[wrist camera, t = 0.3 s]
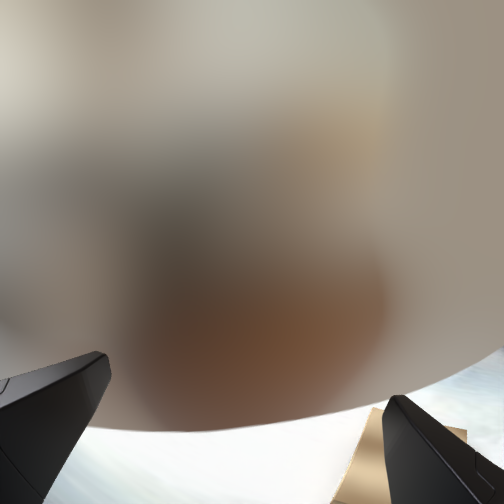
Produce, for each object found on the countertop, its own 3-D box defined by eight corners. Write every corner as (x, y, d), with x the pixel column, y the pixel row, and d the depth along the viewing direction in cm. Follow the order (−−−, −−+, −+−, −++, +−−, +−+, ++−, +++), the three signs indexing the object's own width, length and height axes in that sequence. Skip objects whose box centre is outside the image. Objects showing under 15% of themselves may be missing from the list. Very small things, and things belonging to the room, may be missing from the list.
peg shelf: (437, 535, 9) (458, 522, 8) (322, 511, 14) (333, 499, 14) (452, 447, 18) (466, 429, 17) (363, 425, 23) (372, 407, 23)
